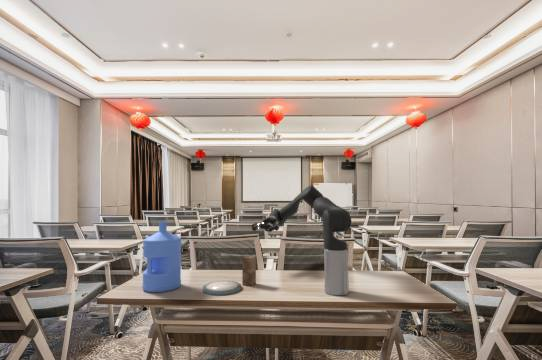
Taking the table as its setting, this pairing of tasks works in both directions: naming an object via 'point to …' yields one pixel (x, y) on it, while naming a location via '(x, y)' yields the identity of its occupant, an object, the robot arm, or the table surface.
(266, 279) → the table surface
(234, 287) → the teal dish
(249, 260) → the walnut block
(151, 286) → the water jug
